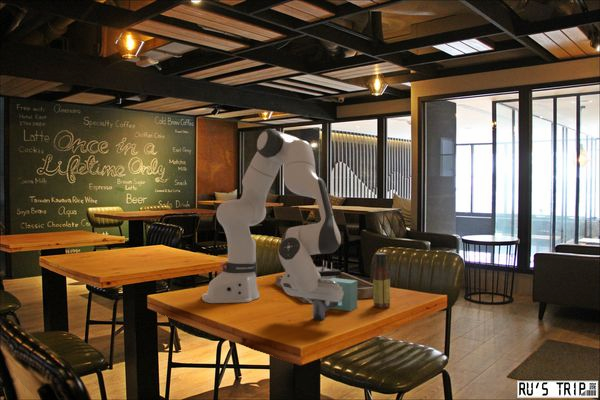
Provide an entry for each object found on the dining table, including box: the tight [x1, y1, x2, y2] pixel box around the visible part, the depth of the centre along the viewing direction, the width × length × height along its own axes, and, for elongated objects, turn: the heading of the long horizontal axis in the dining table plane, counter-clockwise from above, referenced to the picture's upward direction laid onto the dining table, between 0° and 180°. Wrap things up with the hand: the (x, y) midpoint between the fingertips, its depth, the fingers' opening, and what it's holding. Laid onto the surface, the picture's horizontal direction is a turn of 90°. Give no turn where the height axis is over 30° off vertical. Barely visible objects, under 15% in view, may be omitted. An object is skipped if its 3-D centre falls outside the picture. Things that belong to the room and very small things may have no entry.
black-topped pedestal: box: [312, 259, 342, 280], centre depth 202 cm, size 28×26×13 cm
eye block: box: [328, 278, 358, 312], centre depth 177 cm, size 6×10×10 cm, turn 60°
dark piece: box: [312, 299, 338, 322], centre depth 166 cm, size 16×4×11 cm, turn 150°
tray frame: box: [275, 271, 373, 304], centre depth 205 cm, size 33×35×4 cm
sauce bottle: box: [372, 252, 391, 309], centre depth 179 cm, size 6×6×20 cm
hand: (320, 302), depth 161 cm, fingers closed on dark piece, 4 cm apart
